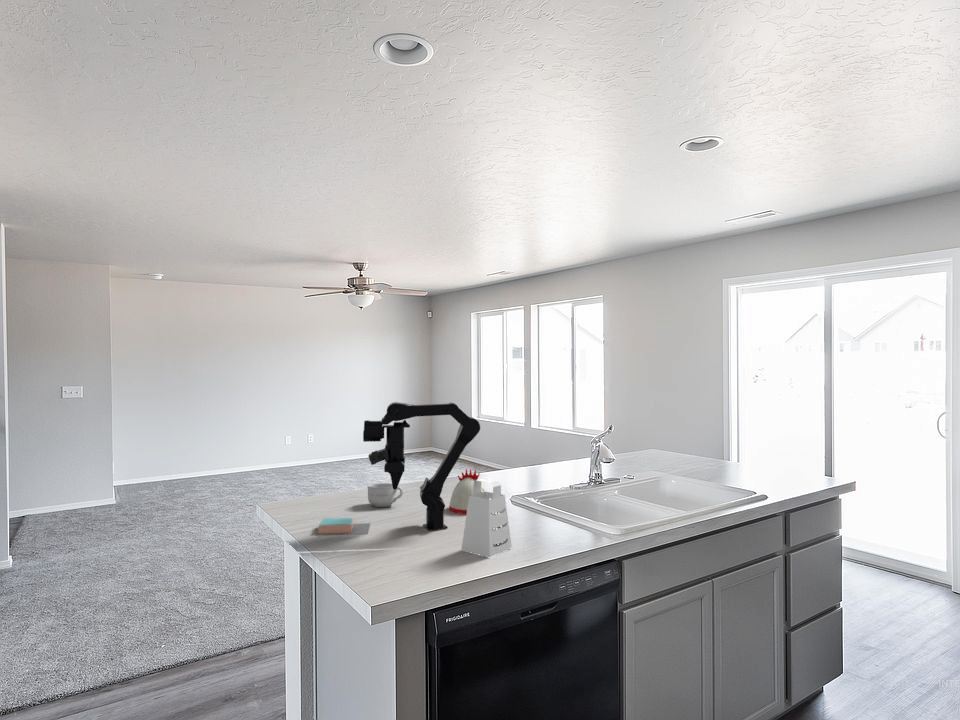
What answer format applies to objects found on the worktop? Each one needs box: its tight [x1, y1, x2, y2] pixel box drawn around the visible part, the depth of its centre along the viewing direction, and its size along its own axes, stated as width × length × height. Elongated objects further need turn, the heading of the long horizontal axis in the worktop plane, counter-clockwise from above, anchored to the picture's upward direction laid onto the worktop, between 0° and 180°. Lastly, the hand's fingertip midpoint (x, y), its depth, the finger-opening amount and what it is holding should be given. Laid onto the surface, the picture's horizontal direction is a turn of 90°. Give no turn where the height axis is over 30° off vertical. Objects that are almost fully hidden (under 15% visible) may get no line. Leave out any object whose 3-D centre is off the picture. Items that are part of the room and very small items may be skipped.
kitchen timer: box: [449, 468, 485, 515], centre depth 211 cm, size 14×14×15 cm
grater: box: [460, 478, 513, 558], centre depth 166 cm, size 10×10×20 cm
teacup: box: [367, 482, 404, 508], centre depth 215 cm, size 14×11×8 cm
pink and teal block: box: [317, 517, 354, 534], centre depth 183 cm, size 3×8×10 cm
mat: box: [315, 522, 371, 537], centre depth 183 cm, size 16×12×1 cm
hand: (394, 489), depth 185 cm, fingers closed
